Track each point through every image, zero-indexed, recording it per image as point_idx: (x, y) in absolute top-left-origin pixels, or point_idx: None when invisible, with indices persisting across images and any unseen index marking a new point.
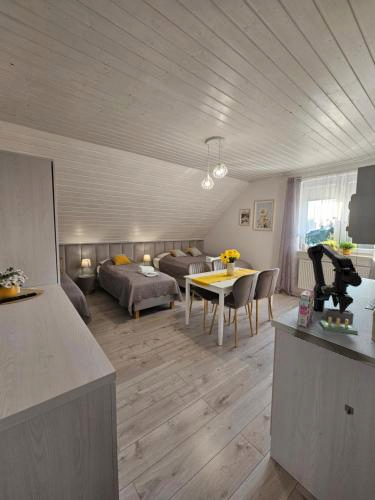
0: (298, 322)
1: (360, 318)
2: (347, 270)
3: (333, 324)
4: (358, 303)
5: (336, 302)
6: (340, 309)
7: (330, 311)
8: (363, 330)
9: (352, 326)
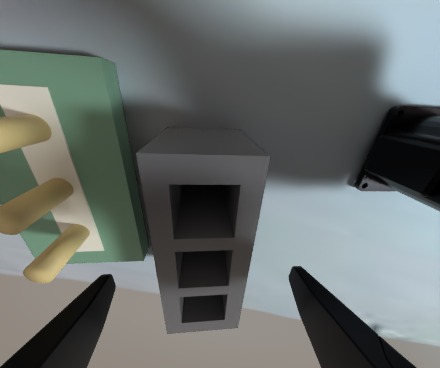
0: None
1: (273, 297)
2: None
3: (49, 159)
4: (424, 321)
5: (320, 338)
6: (44, 331)
7: (145, 201)
8: (128, 279)
9: (102, 258)
